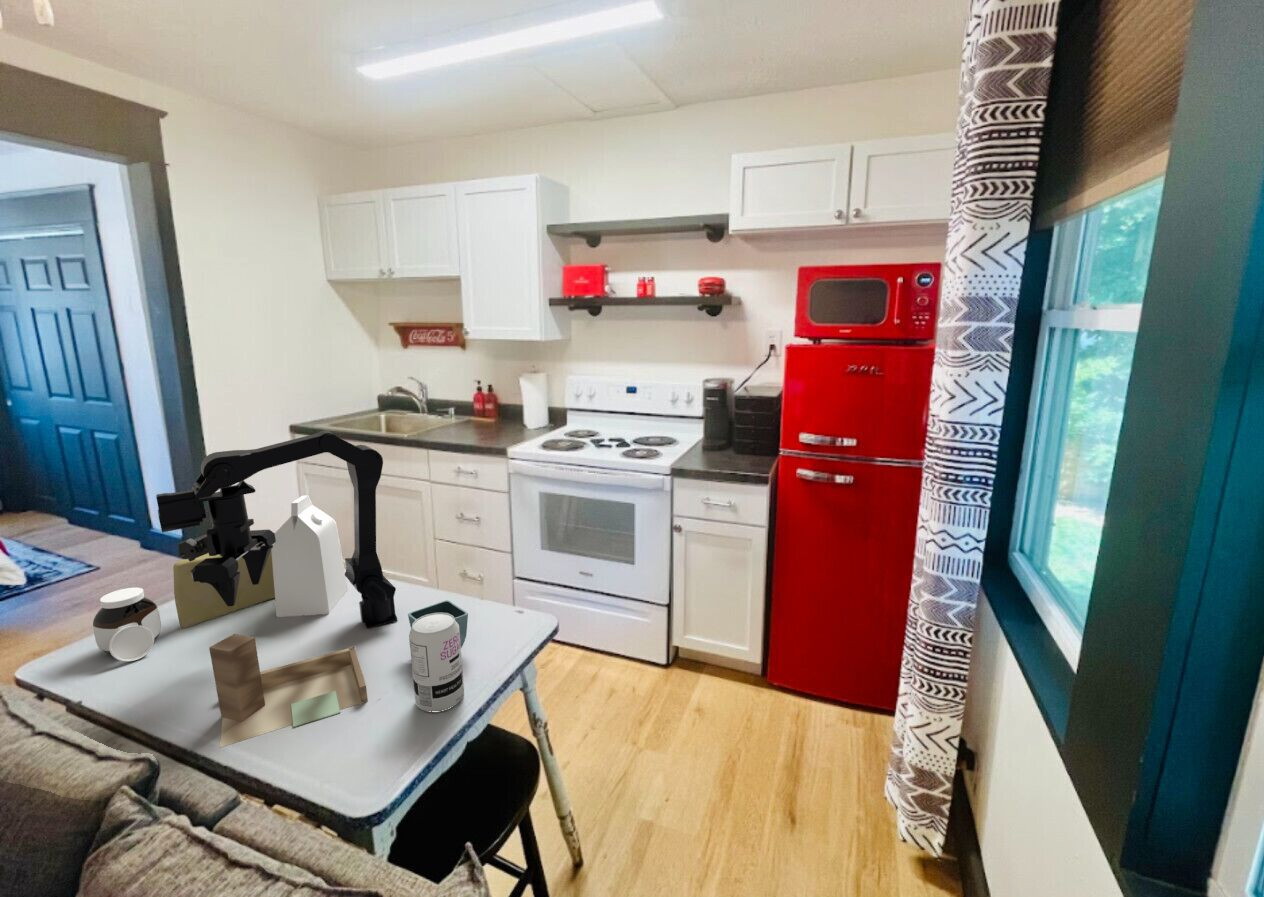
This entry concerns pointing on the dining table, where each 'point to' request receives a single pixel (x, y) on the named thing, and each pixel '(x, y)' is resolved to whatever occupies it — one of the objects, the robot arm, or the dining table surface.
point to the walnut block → (237, 677)
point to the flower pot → (444, 607)
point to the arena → (302, 695)
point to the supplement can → (436, 662)
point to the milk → (307, 562)
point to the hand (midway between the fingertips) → (244, 594)
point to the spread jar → (126, 624)
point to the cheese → (205, 601)
